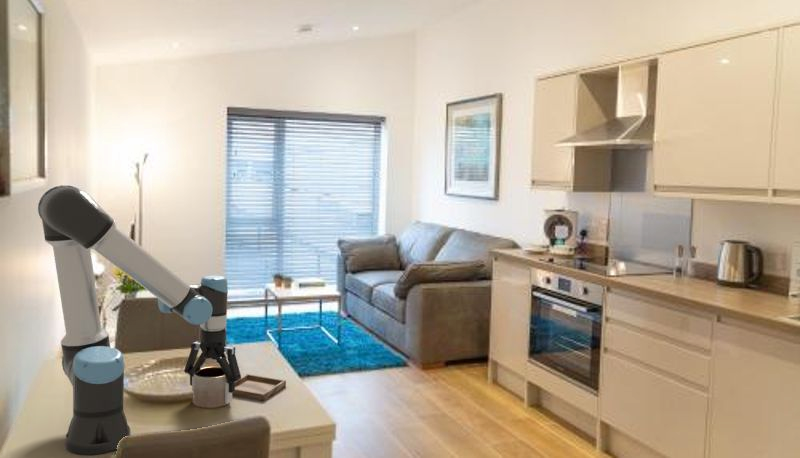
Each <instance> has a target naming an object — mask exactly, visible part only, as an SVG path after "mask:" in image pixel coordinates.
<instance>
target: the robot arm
mask: <svg viewBox="0 0 800 458" xmlns="http://www.w3.org/2000/svg"><path fill="white" fill-rule="evenodd" d="M38 201H39V202H38V204H37V205H38V206H37V211H38V215H39V218H40V219H41V223H42V230H43V235H44V242H46V243H47V244H49V245H50V246H51V247H52V250H53V257H54V262H55V271H56V275H57V276H56V277H57V281H58V282H57V283H58V289H59V296H60V297H59V298H60V301H61V309H62V316H63V320H64V321H63V322H64V328H65V329H64V330H65V333H66V334H65V335H64V336H63V338H62V339H61V340H60V344H61V353H62V357H61V359H62V360H61V366H62V370H63V372H64V374H65V375H66V377H67V378H68V380H69V381H70V384H71V386H72V395H73V396H72V409H73V410H72V411H73V413H72V417H71V421H70V423H69V426H68V430H67V433H66V434H65V439H64V442H65V443H64V445H65V448H66V450H67V451H68V452H70V453H73V454H76V455H85V456H86V455H87V456H89V455H100V454H107V453H110V452H114V451H117V450H116V448H117V445H118V443H119V441H120V440H121V439H122V438H123V437H125V436H130V437H131V428H130V426H129V424H128V421H127V416H126V414H125V410H124V402H125V401H124V396H125V395H124V394H125V393H124V392H125V391H124V389H125V387H124V386H125V383H124V381H125V369H126V367H125V360H124V356H123V353H122V352H121V351H120V350H119V349H117V348H115V347H111V343H110V342H111V341H110V336H109V335H110V334H109V332H108V331H107V330H106V329H103V328H102V323H101V316H100V308H99V303H98V295H97V288H96V287H97V286H96V280H95V273H94V266H93V260H92V252H91V250H94V251H95V252H97V253H98V254H99V255H100V256H102V257H103V258H105V260H107V261H109V262H110V264H113V265H114V266H115V267H117V269H119V270H120V271H122V272H123V273H124V274H126V276H128V277H129V278H130V279H132V280H134V281H135V282H136V283H137V284H139V286H141V287H143V288H144V289H145V290H146V291H147V292H149V293H150V294H152V295H153V296H154V297H156V298H157V304H158V305H157V306H158V309H159V311H160V312H161V313H163V314H173V313H176V314H177V316H179V317H181V318H182V319H184V321H186V322H187V323H189V324H192V325H196V326H199V325H200V328H201V329H200V331H199V332H200V333H199V340H200V341H198V340H196V341H194V342H192V343H191V344H190V351H189V352H190V353H189V355H188V359H187V361H186V364H185V367H184V370H183V372H184V374H188V375H189V379H190V380H189V385H190V386H191V392H192V391H193V385H194V372H195V371H196V370H198V369H200V368H202V366H203V365H204V364H205V361H206V360H207V359H211V360H214V361H216V362H217V363H218V364H219V367H221V368H222V370H223V372H224V374H225V376H226V378H227V380H228V381H227V382H225V404H226V405H228V404H230V403H232V401H233V395H232V392H234V390H235V381H237V380H239V379H241V377H242V376H241V375H242V374H241V372H240V369H239V364H238V360H237V357H236V356H237V355H236V347H235V346H232V347H230V346H229V347H228V346H227V345H226V341H227V328H226V327H227V321H228V320H227V319H228V318H227V317H228V316H227V315H228V311H227V309H228V293H229V292H228V287H229V286H228V280H227V278H226V277H225V276H222V275H204V276H202V278H201V280H200V283H197V284H188V283H186V282H185V281H184V280H183V279H182V278H181V277H179V276H178V275H177V274H175V273H174V272H173V271H172V270H170V268H168V267H167V266H165V264H163V263H162V262H160V261H159V260H158V259H157V258H156V257H154V256H153V255H152V254H151V253H149V252H148V251H147V250H146V249H145V248H143V247H142V246H141V245H140V244H138V243H137V242H136V241H135V240H133V239H132V238H131V237H130V236H128V235H127V234H126V233H125V232H123V230H121V229H120V228H119V227H118V226H116V220H115V219H114V218H113V217H112V216H110V215H109V214H108V213H107V212H106V211H105V210H104V209H103V208H102V207H101V206H100V205H99V204H98V203H97V202H96V201H95V200H94V199H93V197H92V196H91V195H90V194H88V193H87V192H86V191H83V190H82V189H79V188H78V187H75V186H72V185H58V186H54V187H52V188H50V189H48V190H46V191H45V192H44V193H43V195H42V196H41V197H40V199H39V200H38ZM200 350H201V353H200V355H198V354H199V351H200ZM198 356H199V357H198ZM197 358H198V359H197ZM196 359H197V360H196Z"/></svg>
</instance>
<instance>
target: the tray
mask: <svg viewBox="0 0 800 458" xmlns="http://www.w3.org/2000/svg"><path fill="white" fill-rule="evenodd" d="M286 386H287V380H286V379H285V380H284V379H279V378H273V377H267V376H262V375H256V374H255V375H254V374H250V373H247V374H245V375H243V376H241V379H239V380H237V381H235V390H234V392H232V397H240V398H245V399H251V400H255V401H261V402H265V401H266V400H268V399H269V398H270V397H272V396H274V395H275V394H277V393H278V392H280V391H282V390H283V389H284V388H286Z"/></svg>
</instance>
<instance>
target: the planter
mask: <svg viewBox="0 0 800 458" xmlns="http://www.w3.org/2000/svg"><path fill="white" fill-rule="evenodd" d="M227 381H228V380H227V378H226V376H225V374H224V372H223V370H222V368H221V366H215V365H214V366H204V367H201V368H200V369H198V370H196V371H195V372H194V385H193V392H194V395H193V398H192V403H193V404H194V405H195V406H196V407H198V408H199V409H200V408H202V409H207V410H208V409H209V410H210V409H218V408H219V409H220V408H221V407H225V406H227V404H225V382H227Z"/></svg>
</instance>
